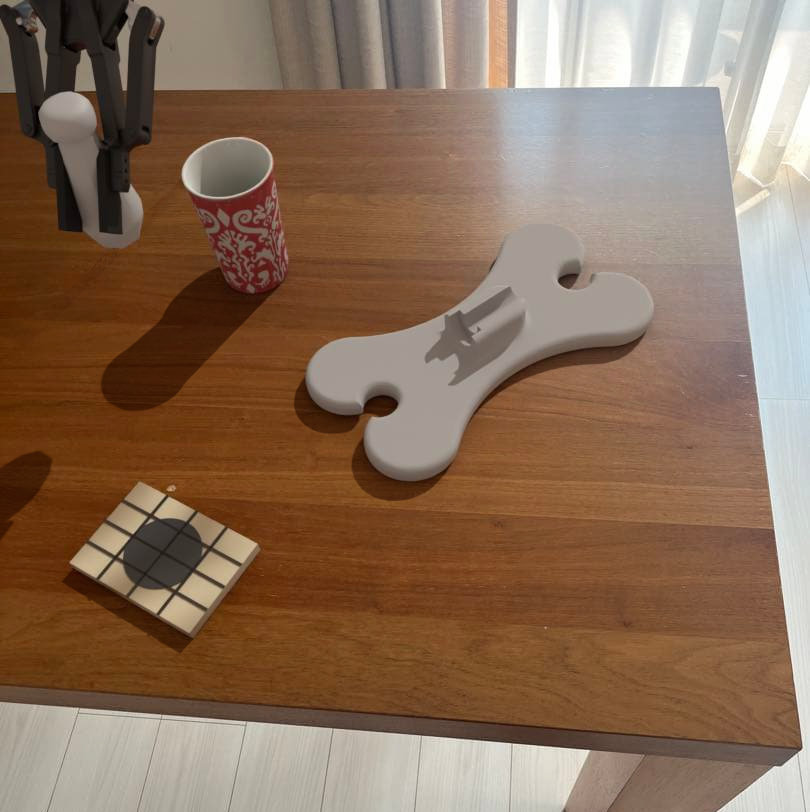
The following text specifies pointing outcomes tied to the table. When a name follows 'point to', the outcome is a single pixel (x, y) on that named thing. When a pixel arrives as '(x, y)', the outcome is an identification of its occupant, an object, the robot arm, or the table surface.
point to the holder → (475, 348)
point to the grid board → (166, 558)
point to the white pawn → (87, 165)
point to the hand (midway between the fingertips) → (90, 231)
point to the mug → (239, 211)
